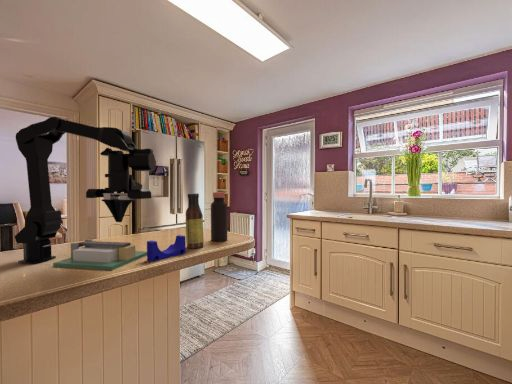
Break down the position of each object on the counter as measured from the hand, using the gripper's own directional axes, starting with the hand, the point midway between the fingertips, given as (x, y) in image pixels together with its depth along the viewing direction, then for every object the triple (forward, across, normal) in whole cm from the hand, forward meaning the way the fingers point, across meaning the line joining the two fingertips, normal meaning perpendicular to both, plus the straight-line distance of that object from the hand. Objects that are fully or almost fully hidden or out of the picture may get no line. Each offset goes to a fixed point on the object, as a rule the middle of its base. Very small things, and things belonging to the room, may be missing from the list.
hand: (119, 222), depth 78 cm
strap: (+8, +5, +1) cm, 9 cm away
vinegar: (+12, -20, -33) cm, 41 cm away
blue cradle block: (+12, -12, -6) cm, 18 cm away
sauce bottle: (+12, -16, -20) cm, 28 cm away
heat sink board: (+12, +4, +1) cm, 13 cm away
